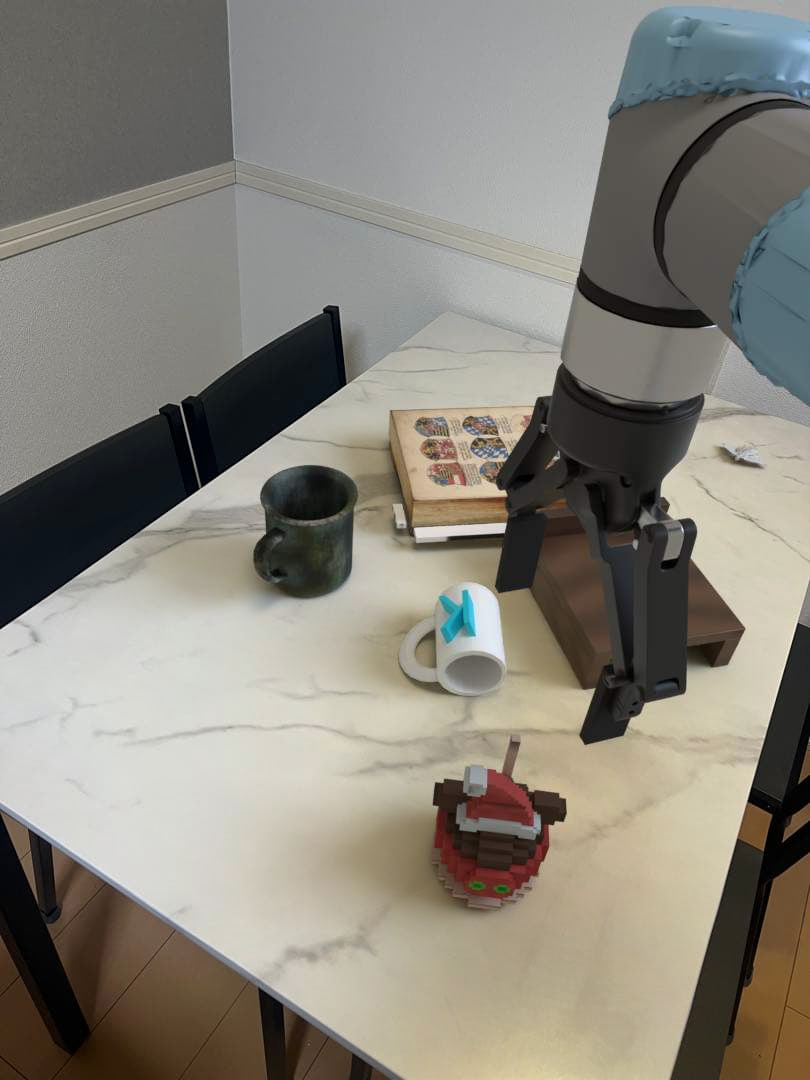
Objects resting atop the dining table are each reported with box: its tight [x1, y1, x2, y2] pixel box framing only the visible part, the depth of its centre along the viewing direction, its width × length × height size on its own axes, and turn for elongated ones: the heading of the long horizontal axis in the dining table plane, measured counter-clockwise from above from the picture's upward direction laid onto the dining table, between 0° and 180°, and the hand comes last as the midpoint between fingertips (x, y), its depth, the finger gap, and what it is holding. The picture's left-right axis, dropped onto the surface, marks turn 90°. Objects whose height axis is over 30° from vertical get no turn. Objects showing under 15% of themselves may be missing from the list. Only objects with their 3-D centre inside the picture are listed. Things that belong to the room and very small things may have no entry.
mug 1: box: [252, 464, 359, 598], centre depth 93 cm, size 11×15×12 cm
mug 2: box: [398, 581, 508, 697], centre depth 87 cm, size 12×9×12 cm
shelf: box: [529, 496, 747, 690], centre depth 93 cm, size 20×18×9 cm
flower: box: [721, 442, 769, 466], centre depth 124 cm, size 8×8×3 cm
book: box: [388, 405, 568, 544], centre depth 111 cm, size 25×6×28 cm
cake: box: [430, 733, 568, 911], centre depth 65 cm, size 11×9×18 cm
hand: (553, 655), depth 54 cm, fingers open, 13 cm apart
